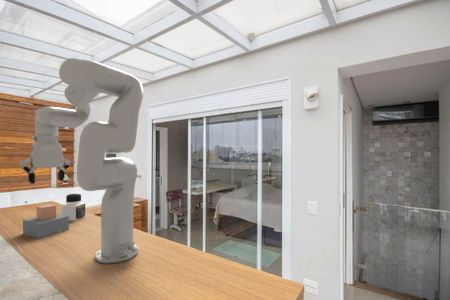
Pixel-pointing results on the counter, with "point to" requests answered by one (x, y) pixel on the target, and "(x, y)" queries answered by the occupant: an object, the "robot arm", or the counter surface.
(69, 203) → the medicine bottle
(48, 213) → the terracotta cube
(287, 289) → the counter surface
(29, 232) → the grey block
